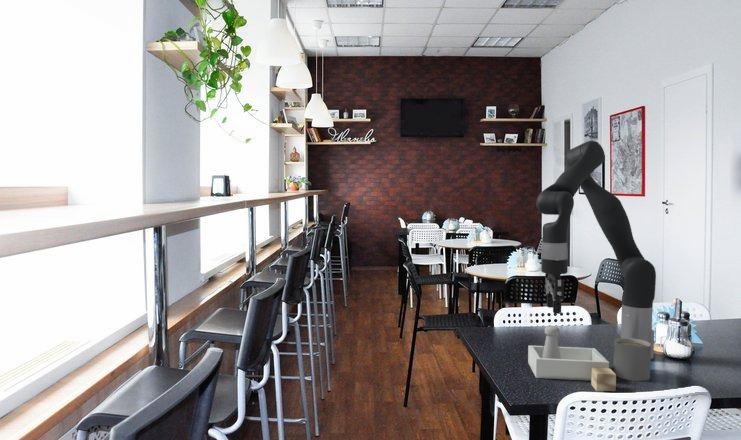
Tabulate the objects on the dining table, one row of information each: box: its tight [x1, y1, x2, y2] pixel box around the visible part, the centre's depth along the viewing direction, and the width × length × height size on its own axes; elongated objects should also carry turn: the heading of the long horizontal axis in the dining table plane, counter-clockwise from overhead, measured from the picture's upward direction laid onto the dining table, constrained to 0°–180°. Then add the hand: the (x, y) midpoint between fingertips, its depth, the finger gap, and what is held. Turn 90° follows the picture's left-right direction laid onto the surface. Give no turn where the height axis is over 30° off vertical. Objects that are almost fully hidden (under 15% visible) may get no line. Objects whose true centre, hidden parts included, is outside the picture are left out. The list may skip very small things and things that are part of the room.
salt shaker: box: [542, 325, 561, 359], centre depth 162 cm, size 6×6×13 cm
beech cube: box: [590, 368, 617, 392], centre depth 147 cm, size 5×5×5 cm
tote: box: [527, 345, 610, 382], centre depth 161 cm, size 20×14×6 cm
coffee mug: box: [612, 337, 652, 382], centre depth 160 cm, size 13×10×10 cm
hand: (553, 310), depth 161 cm, fingers open, 8 cm apart
